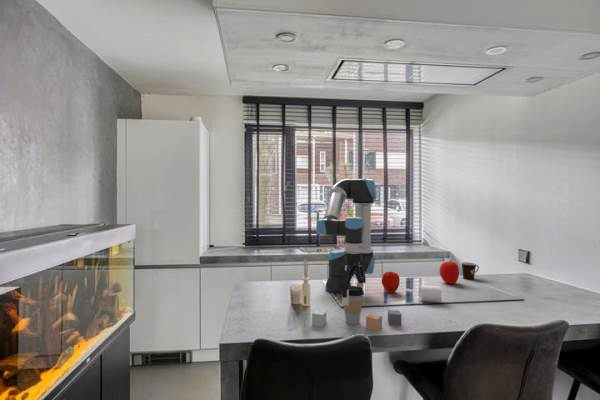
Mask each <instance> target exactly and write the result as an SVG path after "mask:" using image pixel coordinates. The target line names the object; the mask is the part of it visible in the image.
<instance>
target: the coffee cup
mask: <svg viewBox="0 0 600 400" xmlns="http://www.w3.org/2000/svg"><path fill="white" fill-rule="evenodd" d="M348 290H349V305H348V306H347V305H343V308H344V309H343V310H344V314H345V318H344V319H345V323H346V324H348V325H352V326H357V325H359V324H360V320H361V319H360V318H361V311H362V305H363V298H362V295H363V296H364V294H365V291H364V289H363V290H362V288H361V287H357V285H351V286H349V287H348Z"/></svg>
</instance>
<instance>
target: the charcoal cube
mask: <svg viewBox="0 0 600 400" xmlns="http://www.w3.org/2000/svg"><path fill="white" fill-rule="evenodd" d="M387 323H388V326H395V327H401V326H402V313H401V311H400V310H397V309H395V310H393V309H387Z"/></svg>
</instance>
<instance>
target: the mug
mask: <svg viewBox="0 0 600 400" xmlns="http://www.w3.org/2000/svg"><path fill="white" fill-rule="evenodd" d="M418 292H419V293H418V294H419V301H420V302H429V303H441V302H442V300H443V291H442V288H441V286H434V285H433V286H432V285H419V291H418Z"/></svg>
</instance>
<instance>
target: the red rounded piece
mask: <svg viewBox="0 0 600 400" xmlns="http://www.w3.org/2000/svg"><path fill="white" fill-rule="evenodd" d="M400 280H401V279H400V276H399V274H398V273H397V272H394V271H385V272H384V273H383V275H382V277H381V285H382V286H383V288H384V290H385V291H386V292H387V293H390V294H393V293H396V291H398V289H399V286H400Z"/></svg>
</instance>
